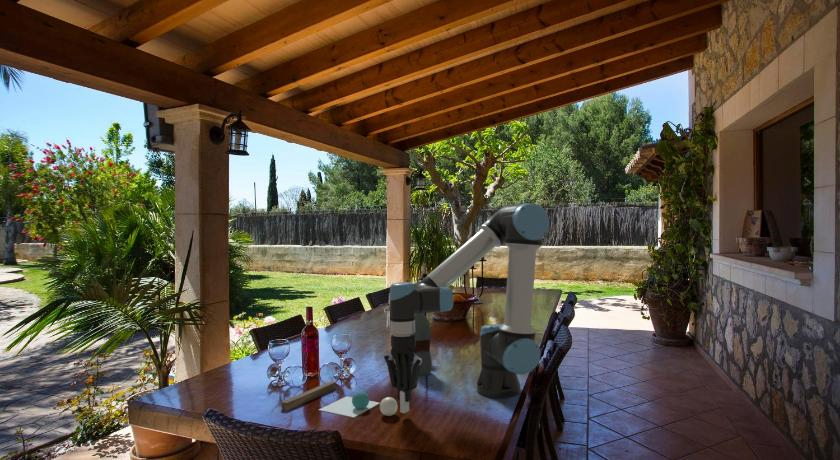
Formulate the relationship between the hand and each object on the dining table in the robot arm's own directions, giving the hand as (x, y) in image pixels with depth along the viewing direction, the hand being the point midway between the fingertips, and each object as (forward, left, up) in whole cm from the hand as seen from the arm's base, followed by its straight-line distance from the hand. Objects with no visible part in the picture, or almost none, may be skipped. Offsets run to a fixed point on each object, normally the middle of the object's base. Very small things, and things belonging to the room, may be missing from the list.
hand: (404, 411), depth 154 cm
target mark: (+21, 0, -2) cm, 21 cm away
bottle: (+19, -42, -2) cm, 46 cm away
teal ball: (+17, 0, +1) cm, 17 cm away
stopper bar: (+38, 0, -2) cm, 38 cm away
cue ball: (+5, +1, +1) cm, 6 cm away
